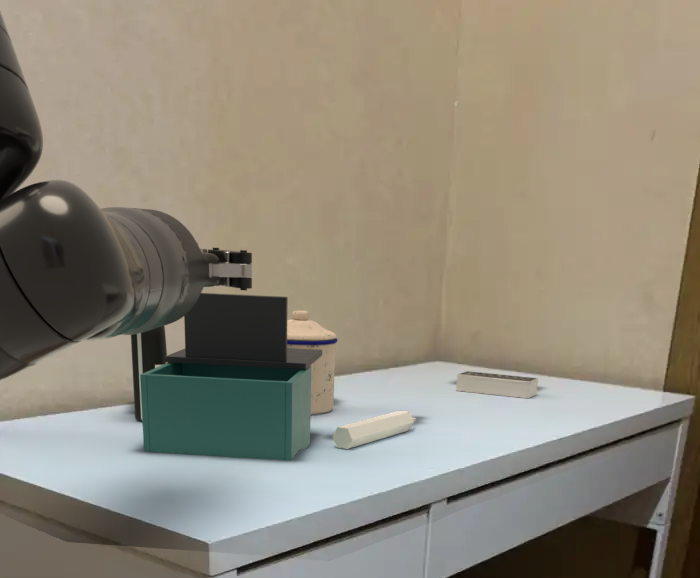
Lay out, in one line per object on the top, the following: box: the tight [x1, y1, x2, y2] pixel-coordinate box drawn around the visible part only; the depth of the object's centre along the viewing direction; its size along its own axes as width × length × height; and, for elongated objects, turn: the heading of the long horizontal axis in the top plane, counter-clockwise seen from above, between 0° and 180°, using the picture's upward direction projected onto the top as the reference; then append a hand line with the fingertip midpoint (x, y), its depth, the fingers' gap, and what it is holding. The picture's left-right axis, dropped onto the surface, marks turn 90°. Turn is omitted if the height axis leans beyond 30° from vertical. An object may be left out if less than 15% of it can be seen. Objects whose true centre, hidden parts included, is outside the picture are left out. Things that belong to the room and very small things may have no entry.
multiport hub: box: [455, 370, 539, 399], centre depth 135 cm, size 4×11×2 cm, turn 64°
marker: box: [332, 410, 417, 450], centre depth 102 cm, size 3×2×16 cm
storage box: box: [140, 362, 312, 461], centre depth 91 cm, size 14×12×8 cm
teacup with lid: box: [287, 310, 338, 415], centre depth 113 cm, size 12×9×12 cm
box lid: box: [165, 292, 322, 370], centre depth 96 cm, size 14×12×7 cm
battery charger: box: [130, 325, 168, 421], centre depth 106 cm, size 7×4×11 cm, turn 11°
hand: (199, 263), depth 76 cm, fingers closed
